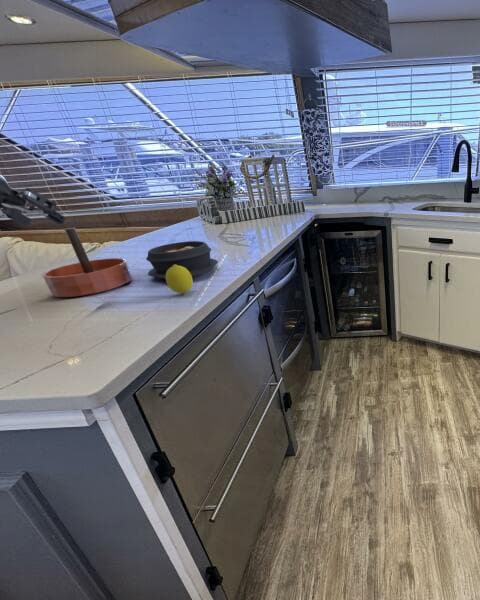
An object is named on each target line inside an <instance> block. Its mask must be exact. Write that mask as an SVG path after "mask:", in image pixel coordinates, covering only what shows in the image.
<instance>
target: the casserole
mask: <svg viewBox="0 0 480 600" xmlns="http://www.w3.org/2000/svg"><path fill="white" fill-rule="evenodd" d="M211 251H212V247H209V245H208V244H207V242H205V241H197V240H191V241H181V242H179V241H178V242H172V243H168V244H163V245H159V246H156V247H153V248H150V249H149V250H148V251H147V256H146V258H145V260H146V261H147V262H149V263H150V265H151V266H152V268H151V269H150V270H149V271H148V272H147V276H150V277H153V278H161V279H164V280H166V272H167V270H168V269H169V268H171V267H172V266H173V265H177V266H182V267H184V268H186V269H187V270H188V271H189V272H190V274H191V276H192V277H197V276H201V275H203V274H207V273H209V272H211V271H213V269H214V267H215V266H217V265H218V263H219V261H218V260H217V259H215V258H211Z"/></svg>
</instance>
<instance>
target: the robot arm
mask: <svg viewBox="0 0 480 600" xmlns="http://www.w3.org/2000/svg"><path fill="white" fill-rule="evenodd" d="M27 204H29V205H30V206H28V207H27V206H26V205H27ZM57 206H58V205H57V203H56V202H53V201H52V200H50V199H48V198H46V197H45V196H43V195H42V194H40V193H39V192H37V191H36V190H34V189H32V188H29V187H26V188H25V190H24V191H20V190H17V189H15V188H13V187H11V186H10V185H9V183H8V181H7V179H6V178H5V177H4V176H3V175H1V174H0V217H1V218H8V219H9V220H12V221H13V222H15V223H17V224H19V225H21V226H23V227H28V226H29V225H30V224H31V223H30V222H31V217H28V216H26V215H25V214H23V213H22V212H24V213H25V212H26V213H28V214H33V213H34V214H39V215H41V216H44V217H45V218H47V219H48V220H50V221H52V222H54V223H55V224H57V225H64V223H65V221H66V217H65V216H64V215H63V214H61V213H59V211H56V208H57ZM19 211H22V212H19Z"/></svg>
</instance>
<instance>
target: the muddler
mask: <svg viewBox="0 0 480 600" xmlns="http://www.w3.org/2000/svg"><path fill="white" fill-rule="evenodd" d="M64 232H65V234H66V236H67V238H68V240H69V242H70V244H71V246H72V249H73V251H74V253H75V256H76V258H77V260H78V263H79V262H80V264H81V267H82V269H83V271H84V273H90V272H94V270H93V268H92V266H91V263H90V261H91V260H90V259H89V257H88V254H87V252H86V250H85V248H84V245H83V244H82V241H81V239H80V236H79V234H78V231H77V229H76V227H68V228H64Z"/></svg>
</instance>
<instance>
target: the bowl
mask: <svg viewBox="0 0 480 600" xmlns="http://www.w3.org/2000/svg"><path fill="white" fill-rule="evenodd" d="M89 261H90V263H91V266H92V268H93V270H94V272H90V273H84V271H83V269H82V267H81V264H80V262H79V261H78V262H75V263H70V264H66V265H62V266H58V267H55V268H52V269H49V270H46V271H44V272H43V273H42V274H41V277H42V279H43V281H44V283H45V285H46V287H47V288H48V290H49V293H50V294H51V295H52V297H57V298H70V297H71V298H73V297H74V298H75V297H83V296H84V297H85V296H89V295H95V294H100V293H103V292H107V291H110V290H113V289H116V288H118V287H121V286H123V285H125V284H128V283H130V282H131V281H132V280H133V275H132V273H131V270H130V267H129V265H128V262H127V260H126V259H124V258H119V257H118V258H117V257H114V258H113V257H111V258H110V257H109V258H100V259H92V260H89Z"/></svg>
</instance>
